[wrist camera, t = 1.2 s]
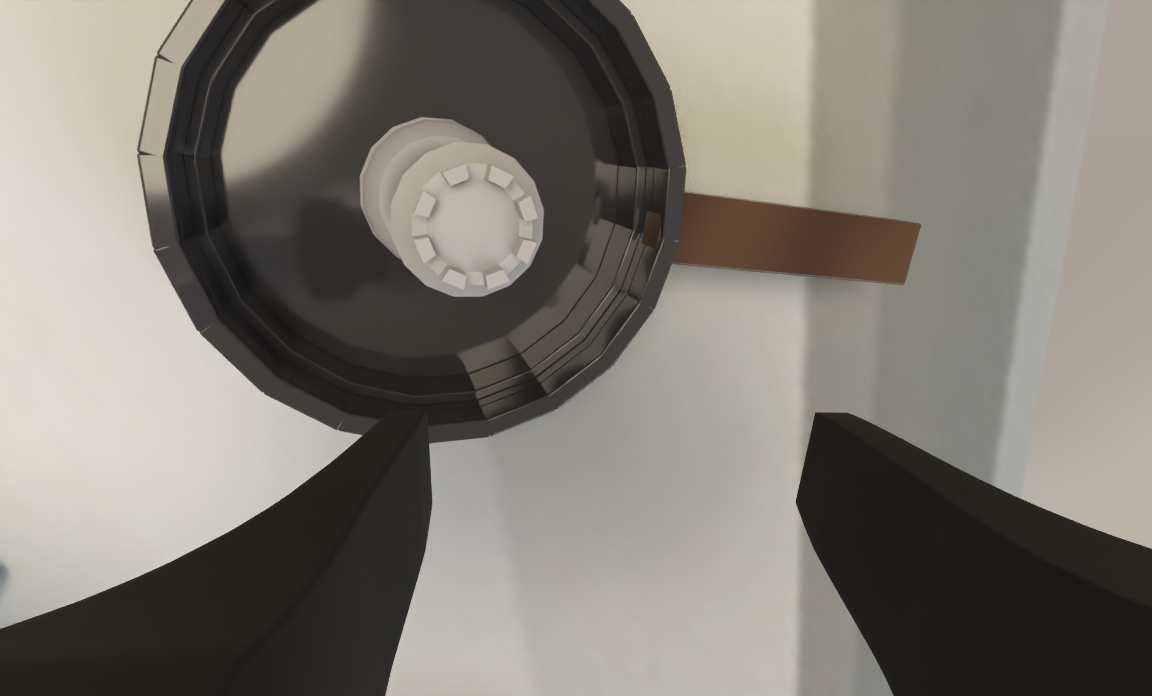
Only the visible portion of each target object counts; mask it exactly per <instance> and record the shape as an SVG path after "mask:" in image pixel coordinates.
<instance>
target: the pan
mask: <svg viewBox="0 0 1152 696" xmlns="http://www.w3.org/2000/svg"><path fill="white" fill-rule="evenodd" d="M157 55H158V56H156V57H155V59H154V65H153V70H152V75H151V80H150V85H149V90H148V96H147V101H146V106H145V111H144V116H143V121H142V127H141V132H140V137H139V142H138V147H137V151H138V152H139V153H138V154H137V158H138V164H139V170H140V176H141V182H142V188H143V194H144V200H145V206H146V212H147V217H148V223H149V229H150V235H151V241H152V246H153V248H155V249H154V253H155V254H156V256H157V258H158V260H159V262H160V264H161V265H162V267H163V269H164V271H165V273H166V275H167V276H168V278H169V280H170V282H171V284H172V286H173V287H174V289H175V291H176V293H177V295H178V297H179V298H180V300H181V302H182V304H183V306H184V308H185V309H186V311H187V313H188V315H189V317H190V318H191V320H192V322H193V324H194V326H195V328H196V329H197V331H199V332H200V334H201V335H202V336H203V337H204V338H205V339H206V340H207V341H208V342H209V343H210V344H211V345H213V346H214V347H215V348H216V349H217V350H218V351H219V352H220V353H221V354H222V355H223V356H224V357H225V358H226V359H227V360H228V361H229V362H230V363H232V364H233V365H234V366H235V367H236V368H237V369H238V370H239V371H240V372H241V373H242V374H243V375H244V376H245V377H246V378H247V379H248V380H249V381H250V382H252V383H253V384H254V385H255V386H256V387H257V388H258V389H259V390H260V391H261V392H264V394H265V395H267V396H269V397H271V398H273V399H275V400H277V401H279V402H281V403H283V404H285V405H287V406H289V407H291V408H293V409H295V410H297V411H299V412H301V413H303V414H305V415H307V416H309V417H311V418H313V419H315V420H317V421H319V422H321V423H323V424H325V425H327V426H329V427H331V428H333V429H335V430H339V431H343V432H348V433H354V434H359V435H364V434H365V433H366V432H367V431H368V430H370V429H371V428H372V427H373V426H374V425H375V424H376V423H378V422H379V421H380V420H381V419H382V418H383V417H384V416H386V415H387V414H388V413H389V412H390V411H392V410H427V418H428V436H429V443H436V442H446V441H455V440H465V439H475V438H484V437H489V435H490V436H493V435H495V434H498V433H500V432H503V431H505V430H508V429H510V428H513V427H515V426H517V425H520V424H522V423H525V422H527V421H530V420H532V419H535V418H537V417H540V416H542V415H545V414H547V413H550V412H552V411H554V410H555V408H556V409H558V408H559V407H561V406H562V405H563V404H565V403H566V402H567V401H568V400H570V399H571V398H572V397H574V396H575V395H576V394H577V393H579V392H580V391H581V390H583V389H584V388H585V387H586V386H588V385H589V384H590V383H592V382H593V381H594V380H596V379H597V378H598V377H599V376H601V375H602V374H603V373H605V372H606V371H607V370H608V369H610V368H611V366H613V365H614V363H615V362H616V361H617V359H618V358H619V357H620V355H621V354H622V353H623V351H624V350H625V348H626V347H627V346H628V344H629V343H630V342H631V340H632V339H633V338H634V336H635V335H636V334H637V332H638V331H639V330H640V328H641V327H642V325H643V324H644V323H645V321H646V320H647V319H648V317H649V316H650V315H651V313H652V312H653V309H655V307H656V304H657V301H658V299H659V296H660V293H661V291H662V288H663V286H664V283H665V280H666V278H667V275H668V272H669V270H670V267H671V264H672V262H673V259H674V256H675V254H676V251H677V248H678V246H679V241H680V235H681V224H682V212H683V200H684V189H685V177H686V167H685V166H686V163H685V158H684V153H683V148H682V143H681V137H680V132H679V127H678V122H677V117H676V112H675V107H674V101H673V96H672V91H671V90H670V86H669V84H668V82H667V80H666V78H665V76H664V74H663V72H662V70H661V68H660V66H659V64H658V62H657V60H656V58H655V56H654V55H653V53H652V51H651V49H650V47H649V45H648V43H647V41H646V39H645V37H644V35H643V33H642V31H641V29H640V27H639V25H638V23H637V22H636V20H635V18H634V16H633V15H632V14H631V12H630V10H629V9H628V8H627V7H626V6H625V5H624V4H623V3H622V2H621V1H620V0H190V1H189V3H188V5H187V6H186V8H185V9H184V11H183V12H182V14H181V15H180V17H179V19H178V20H177V22H176V23H175V25H174V26H173V28H172V29H171V31H170V32H169V34H168V36H167V37H166V39H165V40H164V42H163V43H162V45H161V46H160V48H159V50H158V51H157ZM420 117H426V118H438V119H450V120H453V121H455V122H457V123H459V124H461V125H463V126H465V127H467V128H469V129H471V130H473V131H474V132H476V133H478V134H480V135H482V136H483V137H484V139H485V140H486V141H487V142H488V143H489V144H490V146H491V147H493V148H495V149H497V150H499V151H501V152H503V153H505V154H507V155H509V156H511V157H513V158H515V160H516V161H517V162H518V163H519V164H520V165H521V167H522V168H523V169H524V170H525V171H526V172H527V174H528V175H529V176H530V177H531V178H532V180H533V181H534V182H535V185H536V188H537V191H538V194H539V197H540V200H541V203H542V206H543V209H544V218H543V236H542V241H541V244H540V246H539V248H538V250H537V252H536V254H535V257H534V259H533V261H532V263H531V265H530V267H529V268H528V269H526V270H525V271H524V272H523V273H522V274H521V275H520V276H519V277H518V278H517V279H516V280H515V281H514V282H513V283H512V284H511V285H510V286H508V287H505V288H503V289H500V290H498V291H495V292H493V293H490V294H488V295H486V296H483V297H453V296H451V295H448V294H446V293H443V292H441V291H438V290H436V289H433V288H431V287H428V286H426V285H425V284H424V283H423V282H422V281H421V280H420V279H419V278H418V277H417V276H415V275H414V274H413V273H412V272H411V271H410V270H409V269H408V268H407V267H406V266H405V265H404V263H403V261H402V260H401V259H399V258H397V257H396V256H395V255H394V254H393V253H392V252H391V251H390V250H389V249H388V248H387V247H386V246H385V245H384V244H383V243H382V242H380V241H379V240H378V239H377V238H376V236H375V235H374V234H373V232H372V230H371V228H370V226H369V224H368V221H367V219H366V217H365V215H364V213H363V210H362V208H361V201H360V174H361V172H362V169H363V167H364V164H365V162H366V159H367V157H368V154H369V152H370V149H371V147H372V146H373V145H375V144H376V143H377V142H378V141H379V140H380V139H381V138H382V137H383V136H384V135H385V134H386V133H387V132H388V131H389V130H390V129H391V128H392V127H394V126H397V125H400V124H403V123H406V122H409V121H412V120H414V119H417V118H420ZM647 211H649V212H653V213H656V214H660V215H661V231H660V240H659V242H658V245H657V247H656V248H655V249H654V248H651V247H649V246H646V245H644V244H641V243H642V237H643V231H644V225H645V219H646V213H647Z"/></svg>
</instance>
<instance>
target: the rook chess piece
mask: <svg viewBox="0 0 1152 696" xmlns="http://www.w3.org/2000/svg"><path fill="white" fill-rule="evenodd" d="M360 201H361V208H362V210H363V213H364V215H365V217H366V219H367V221H368V224H369V226H370V228H371V230H372V232H373V234H374V235H375V236H376V238H377V239H378V240H379V241H380V242H382V243H383V244H384V245H385V246H386V247H387V248H388V249H389V250H390V251H391V252H392V253H393V254H394V255H395V256H396V257H397V258H399V259H401V260H402V261H403V263H404V265H405V266H406V267H407V268H408V269H409V270H410V271H411V272H412V273H413V274H414V275H415V276H417V277H418V278H419V279H420V280H421V281H422V282H423V283H424V284H425V285H426V286H428V287H431V288H433V289H436V290H438V291H441V292H443V293H446V294H448V295H451V296H453V297H483V296H486V295H488V294H490V293H493V292H495V291H498V290H500V289H503V288H505V287H508V286H510V285H511V284H512V283H513V282H514V281H515V280H516V279H517V278H518V277H519V276H520V275H521V274H522V273H523V272H524V271H525V270H526V269H528V268H529V267H530V265H531V263H532V261H533V259H534V257H535V254H536V252H537V250H538V248H539V246H540V244H541V241H542V236H543V218H544V209H543V206H542V203H541V200H540V197H539V194H538V191H537V188H536V185H535V182H534V181H533V180H532V178H531V177H530V176H529V175H528V174H527V172H526V171H525V170H524V169H523V168H522V167H521V165H520V164H519V163H518V162H517V161H516V160H515V158H513V157H511V156H509V155H507V154H505V153H503V152H501V151H499V150H497V149H495V148H493V147H491V146H490V144H489V143H488V142H487V141H486V140H485V139H484V137H483V136H482V135H480V134H478V133H476V132H474V131H473V130H471V129H469V128H467V127H465V126H463V125H461V124H459V123H457V122H455V121H453V120H450V119H438V118H426V117H420V118H417V119H414V120H412V121H409V122H406V123H403V124H400V125H397V126H394V127H392V128H391V129H390V130H389V131H388V132H387V133H386V134H385V135H384V136H383V137H382V138H381V139H380V140H379V141H378V142H377V143H376V144H375V145H373V146H372V147H371V149H370V152H369V154H368V157H367V159H366V162H365V164H364V167H363V169H362V172H361V174H360Z"/></svg>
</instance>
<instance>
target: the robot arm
mask: <svg viewBox="0 0 1152 696" xmlns="http://www.w3.org/2000/svg"><path fill="white" fill-rule="evenodd" d="M796 504H797V507H798V510H799V513H800V515H801V518H802V521H803V523H804V526H805V529H806V531H807V534H808V536H809V538H810V541H811V543H812V546H813V548H814V550H815V552H816V554H817V556H818V558H819V559H820V561H821V563H822V565H823V567H824V568H825V570H826V572H827V574H828V576H829V577H830V579H831V581H832V583H833V584H834V586H835V588H836V590H837V591H838V593H839V595H840V597H841V598H842V600H843V602H844V604H845V605H846V607H847V609H848V611H849V612H850V614H851V616H852V618H853V619H854V621H855V623H856V625H857V626H858V628H859V630H860V632H861V633H862V635H863V637H864V639H865V640H866V642H867V644H868V646H869V647H870V649H871V651H872V653H873V654H874V656H875V658H876V660H877V662H878V664H879V666H880V668H881V670H882V672H883V674H884V676H885V678H886V680H887V682H888V684H889V686H890V689H891V691H892V693H893V695H894V696H1152V549H1150V548H1147V547H1144V546H1141V545H1139V544H1136V543H1133V542H1130V541H1127V540H1124V539H1121V538H1117V537H1115V536H1112V535H1109V534H1106V533H1104V532H1101V531H1098V530H1096V529H1093V528H1090V527H1088V526H1085V525H1082V524H1080V523H1077V522H1075V521H1073V520H1070V519H1068V518H1065V517H1063V516H1060V515H1058V514H1055V513H1053V512H1050V511H1048V510H1045V509H1043V508H1041V507H1038V506H1036V505H1034V504H1031V503H1029V502H1027V501H1024V500H1022V499H1020V498H1018V497H1015V496H1013V495H1011V494H1009V493H1007V492H1005V491H1003V490H1001V489H999V488H996V487H994V486H992V485H990V484H988V483H986V482H984V481H982V480H980V479H978V478H976V477H974V476H972V475H970V474H968V473H966V472H964V471H962V470H960V469H958V468H956V467H954V466H952V465H950V464H948V463H946V462H944V461H942V460H940V459H939V458H937V457H935V456H933V455H931V454H929V453H927V452H925V451H923V450H922V449H920V448H918V447H916V446H914V445H912V444H910V443H908V442H907V441H905V440H903V439H901V438H899V437H897V436H895V435H893V434H891V433H890V432H888V431H886V430H884V429H882V428H880V427H878V426H876V425H874V424H872V423H870V422H868V421H866V420H863V419H861V418H859V417H857V416H854V415H851V414H849V413H815V417H814V421H813V426H812V430H811V435H810V439H809V444H808V449H807V453H806V458H805V462H804V467H803V471H802V476H801V480H800V485H799V489H798V494H797V498H796ZM431 509H432V488H431V471H430V453H429V436H428V418H427V410H392V411H390V412H389V413H388V414H387V415H386V416H384V417H383V418H382V419H381V420H380V421H379V422H378V423H376V424H375V425H374V426H373V427H372V428H371V429H370V430H368V431H367V432H366V433H365V434H364V435H363V436H362V437H361V438H359V439H358V440H357V441H356V442H355V443H354V444H352V445H351V446H350V447H349V448H348V449H347V450H345V451H344V452H343V453H342V454H341V455H339V456H338V457H337V458H336V459H335V460H334V461H332V462H331V463H330V464H329V465H327V466H326V467H325V468H323V469H322V470H321V471H319V472H318V473H317V474H315V475H314V476H313V477H311V478H310V479H309V480H307V481H306V482H305V483H303V484H302V485H301V486H299V487H298V488H297V489H295V490H294V491H293V492H291V493H290V494H289V495H287V496H286V497H284V498H283V499H281V500H280V501H278V502H277V503H275V504H274V505H272V506H271V507H269V508H268V509H266V510H265V511H263V512H261V513H260V514H258V515H256V516H255V517H253V518H251V519H250V520H248V521H246V522H245V523H243V524H242V525H240V526H238V527H236V528H235V529H233V530H231V531H230V532H228V533H226V534H224V535H222V536H220V537H218V538H216V539H214V540H212V541H210V542H208V543H207V544H205V545H203V546H201V547H199V548H197V549H195V550H193V551H191V552H189V553H187V554H185V555H183V556H181V557H180V558H178V559H176V560H174V561H172V562H170V563H167V564H165V565H163V566H161V567H159V568H157V569H154V570H152V571H150V572H148V573H146V574H143V575H141V576H139V577H137V578H134V579H132V580H130V581H127V582H125V583H123V584H120V585H118V586H115V587H113V588H110V589H108V590H106V591H103V592H101V593H98V594H96V595H93V596H91V597H88V598H86V599H83V600H81V601H78V602H75V603H73V604H70V605H67V606H65V607H62V608H59V609H56V610H53V611H50V612H48V613H45V614H42V615H39V616H36V617H33V618H31V619H28V620H25V621H22V622H19V623H16V624H13V625H11V626H8V627H5V628H2V629H0V696H385V694H386V689H387V685H388V681H389V677H390V673H391V669H392V665H393V661H394V658H395V654H396V651H397V648H398V644H399V641H400V637H401V634H402V630H403V627H404V623H405V620H406V617H407V613H408V610H409V606H410V603H411V599H412V596H413V593H414V589H415V586H416V582H417V579H418V575H419V571H420V568H421V564H422V561H423V557H424V554H425V549H426V542H427V536H428V530H429V523H430V516H431Z"/></svg>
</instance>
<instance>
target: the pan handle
mask: <svg viewBox="0 0 1152 696" xmlns="http://www.w3.org/2000/svg"><path fill="white" fill-rule="evenodd" d="M920 227H921V225H920V224H919V223H913V222H907V221H901V220H895V219H887V218H880V217H873V216H865V215H858V214H850V213H843V212H835V211H828V210H820V209H813V208H805V207H798V206H790V205H783V204H776V203H768V202H761V201H753V200H746V199H738V198H731V197H723V196H716V195H708V194H701V193H694V192H686V191H684V200H683V212H682V224H681V235H680V241H679V246H678V248H677V251H676V254H675V256H674V259H673V262H672V264H677V265H688V266H699V267H710V268H721V269H732V270H743V271H754V272H765V273H776V274H787V275H798V276H809V277H820V278H831V279H842V280H853V281H864V282H875V283H886V284H897V285H903V284H904V283H905V280H906V277H907V273H908V270H909V266H910V262H911V259H912V255H913V252H914V248H915V245H916V241H917V238H918V234H919V231H920ZM660 231H661V215H660V214H656V213H653V212H649V211H647V213H646V219H645V225H644V231H643V237H642V243H641V244H644V245H646V246H649V247H651V248H654V249H655V248H656V247H657V245H658V242H659V240H660Z"/></svg>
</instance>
